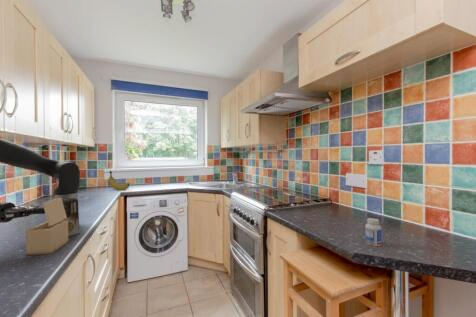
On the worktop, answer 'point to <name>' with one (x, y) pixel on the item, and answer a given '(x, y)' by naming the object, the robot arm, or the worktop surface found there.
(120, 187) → the banana
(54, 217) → the carton flap
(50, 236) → the carton
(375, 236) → the pill bottle
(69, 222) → the coffee box
